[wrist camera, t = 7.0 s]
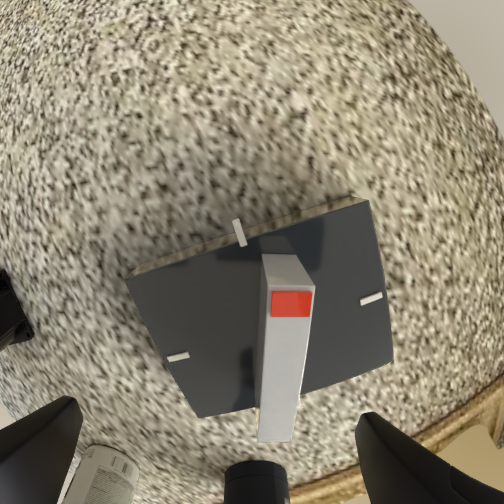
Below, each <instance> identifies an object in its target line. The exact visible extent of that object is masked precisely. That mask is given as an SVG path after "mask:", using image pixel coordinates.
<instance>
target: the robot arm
mask: <svg viewBox="0 0 504 504" xmlns="http://www.w3.org/2000/svg"><path fill="white" fill-rule="evenodd" d="M33 337H34V331H33V330H32V328H31V326H30V324H29V322H28V320H27V318H26V316H25V314H24V312H23V310H22V308H21V305H20V303H19V301H18V299H17V297H16V294H15V292H14V290H13V287H12V285H11V283H10V280H9V278H8V275H7V273H6V271H5V270H4V269H1V270H0V352H1V351H2V350H3V349H4V348H5V347H7V346H8V345H12V344H15V343H19V342H23V341H27V340H31V339H32V338H33ZM82 422H83V415H82V412H81V410H80V407H79V405H78V402H77V400H76V399H75V398H74V397H70V396H66V395H64V396H62V397H60V398H58V399H56V400H55V401H53V402H51V403H49V404H47V405H46V406H44V407H42V408H40V409H38V410H36V411H35V412H33V413H31V414H29V415H27V416H25V417H24V418H22V419H20V420H18V421H16V422H14V423H13V424H11V425H9V426H7V427H5V428H3V429H1V430H0V504H57V502H58V498H59V496H60V493H61V490H62V487H63V484H64V481H65V478H66V475H67V473H68V470H69V467H70V465H71V462H72V459H73V456H74V453H75V449H76V445H77V441H78V437H79V433H80V430H81V426H82ZM355 440H356V445H357V450H358V456H359V461H360V467H361V472H362V476H363V480H364V483H365V486H366V489H367V492H368V495H369V498H370V502H371V504H504V492H502V491H500V490H497V489H495V488H493V487H490V486H488V485H486V484H484V483H481V482H480V481H478V480H476V479H474V478H472V477H469V476H468V475H466V474H465V473H463V472H461V471H459V470H458V469H456V468H455V467H454V466H450V464H449V463H447V462H446V461H444V460H443V459H441V458H440V457H438V456H437V455H435V454H434V453H432V452H431V451H429V450H428V449H426V448H425V447H423V446H422V445H421V444H419V443H418V442H416V441H415V440H413V439H412V438H410V437H409V436H408V435H406V434H405V433H403V432H402V431H400V430H399V429H398V428H396V427H395V426H393V425H392V424H391V423H389V422H388V421H387V420H385V419H384V418H382V417H381V416H380V415H378V414H377V413H375V412H368V413H363V414H362V415H361V416H360V419H359V422H358V424H357V427H356V429H355Z"/></svg>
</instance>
